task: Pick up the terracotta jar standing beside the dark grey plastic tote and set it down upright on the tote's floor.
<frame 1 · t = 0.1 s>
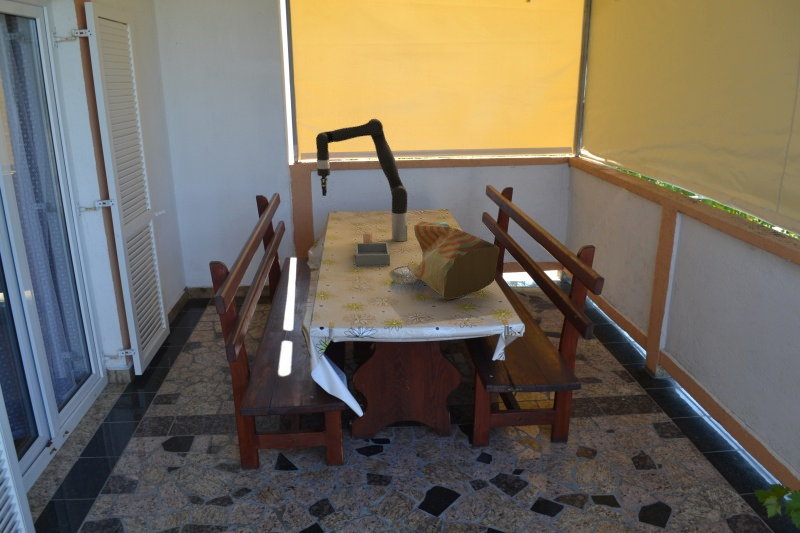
hand: (324, 194, 382), 29 cm above the table, fingers open, 8 cm apart
jar: (367, 248, 376), on the table
data package: (438, 243, 387), on the table
shopping bag: (450, 287, 310), on the table
tote: (372, 259, 355), on the table
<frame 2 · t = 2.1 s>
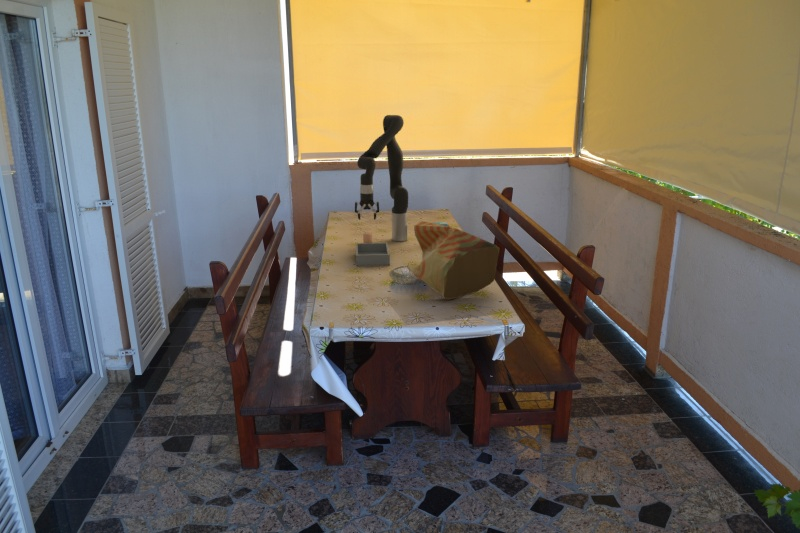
hand: (367, 219, 371), 17 cm above the table, fingers open, 8 cm apart
nothing on the table moved.
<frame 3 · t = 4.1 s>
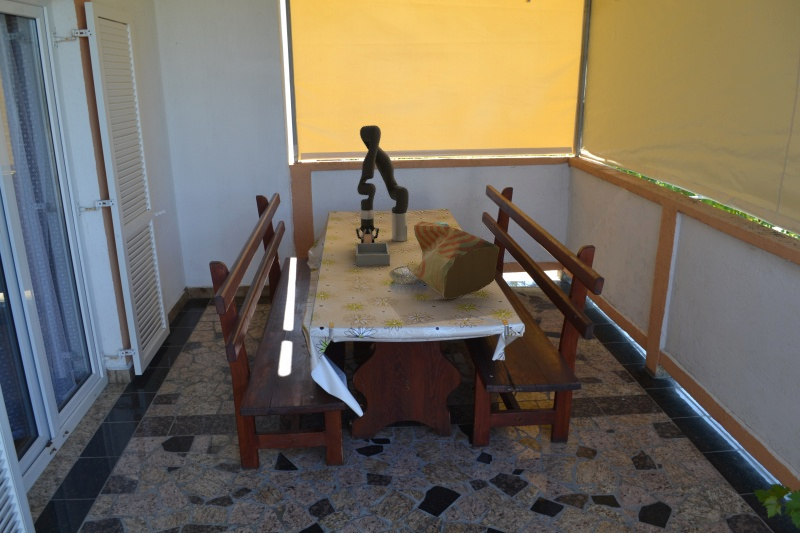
hand: (367, 245, 375), 2 cm above the table, fingers closed on jar, 5 cm apart
jar: (367, 248, 376), on the table, touching gripper
everything else where it was.
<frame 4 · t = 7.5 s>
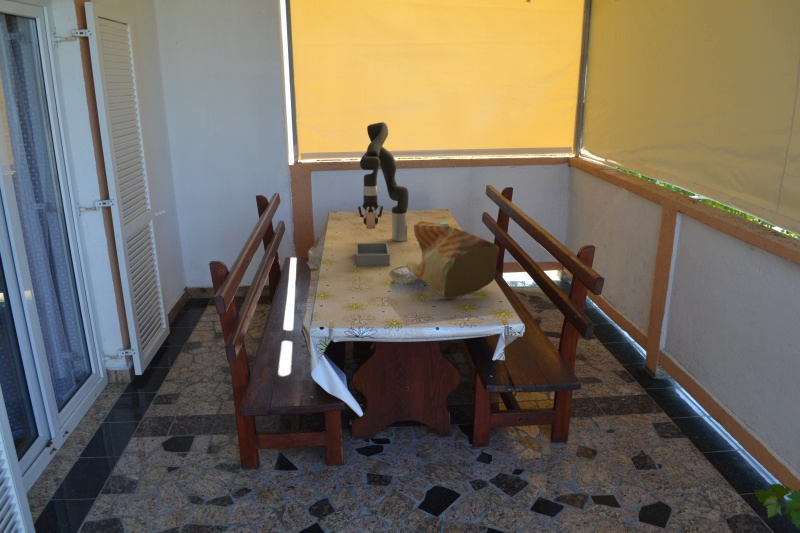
hand: (370, 224, 350), 20 cm above the table, fingers closed on jar, 5 cm apart
jar: (370, 227, 350), point 18 cm above the table, touching gripper
everything else where it was.
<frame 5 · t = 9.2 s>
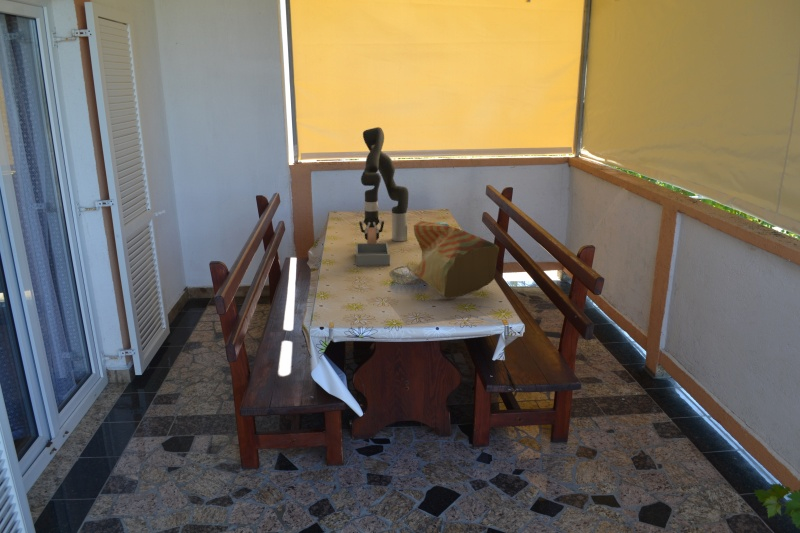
hand: (371, 239, 352), 11 cm above the table, fingers closed on jar, 5 cm apart
jar: (371, 242, 352), point 9 cm above the table, touching gripper
when the fingers open (4 cm above the table, at t = 11.0 s): jar drops 1 cm, resting on tote.
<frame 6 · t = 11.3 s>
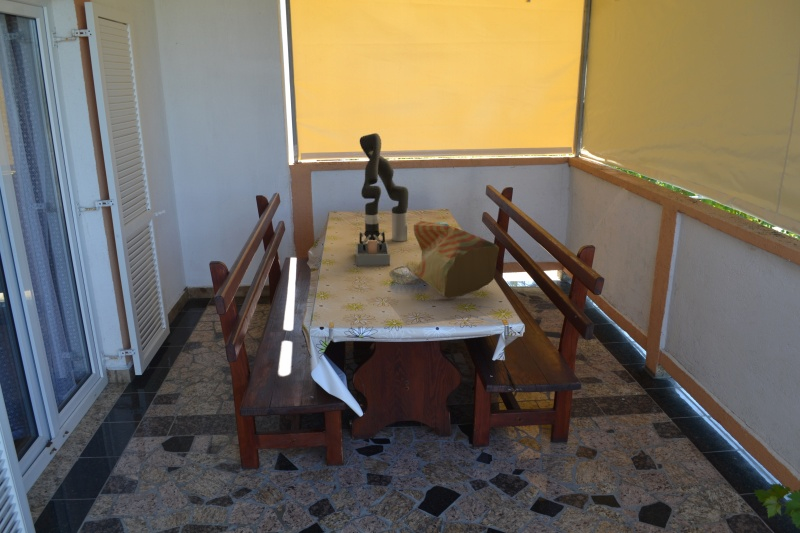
hand: (372, 250, 354), 5 cm above the table, fingers open, 8 cm apart
jar: (372, 257, 355), point 1 cm above the table, touching tote
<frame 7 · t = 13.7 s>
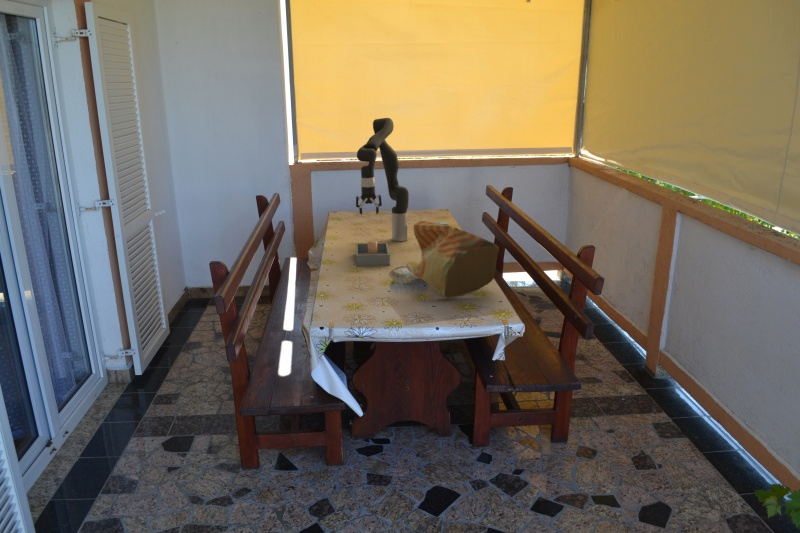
hand: (369, 214, 355), 24 cm above the table, fingers open, 8 cm apart
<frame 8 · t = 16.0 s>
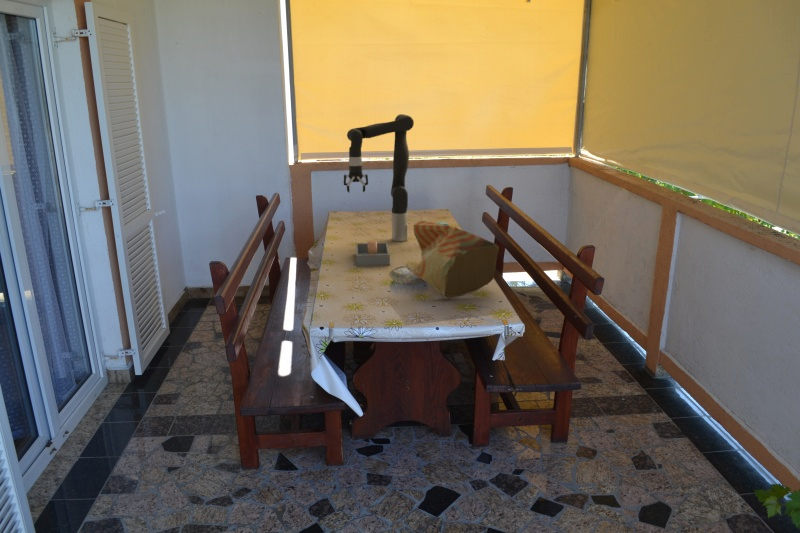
hand: (356, 192, 373), 32 cm above the table, fingers open, 8 cm apart
at the end: jar inside the target area on the tote (0.2 cm from its centre), point 1.1 cm above the tote's base; jar tilted 1°; the gripper is holding nothing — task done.
